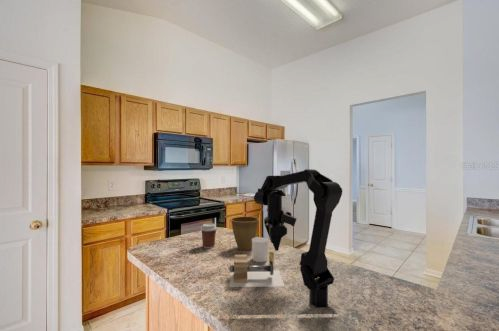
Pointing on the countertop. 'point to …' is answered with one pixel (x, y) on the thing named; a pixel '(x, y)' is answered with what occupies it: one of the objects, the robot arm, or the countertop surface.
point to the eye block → (240, 269)
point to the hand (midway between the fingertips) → (274, 246)
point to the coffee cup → (208, 235)
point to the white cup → (260, 249)
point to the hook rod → (260, 268)
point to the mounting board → (259, 280)
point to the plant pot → (244, 231)
